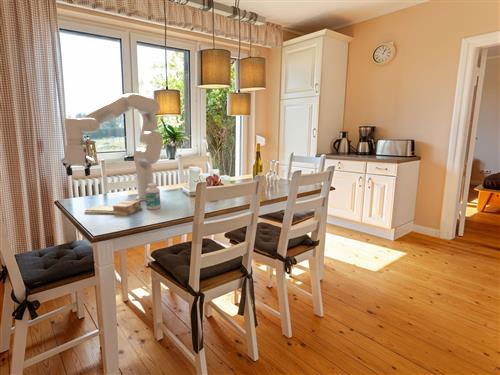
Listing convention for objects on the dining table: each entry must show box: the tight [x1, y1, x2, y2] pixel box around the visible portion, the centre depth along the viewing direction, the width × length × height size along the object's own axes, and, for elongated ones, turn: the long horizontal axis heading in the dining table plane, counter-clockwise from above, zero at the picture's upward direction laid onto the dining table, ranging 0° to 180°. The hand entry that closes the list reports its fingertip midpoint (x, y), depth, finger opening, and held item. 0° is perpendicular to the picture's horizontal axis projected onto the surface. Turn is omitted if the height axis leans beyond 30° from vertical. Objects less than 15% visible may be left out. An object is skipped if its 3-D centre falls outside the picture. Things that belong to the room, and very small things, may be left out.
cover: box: [84, 205, 114, 213], centre depth 164 cm, size 9×15×2 cm, turn 85°
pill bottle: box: [145, 182, 161, 210], centre depth 168 cm, size 8×7×14 cm
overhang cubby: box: [84, 199, 142, 216], centre depth 163 cm, size 14×24×4 cm, turn 84°
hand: (78, 175), depth 161 cm, fingers open, 9 cm apart
